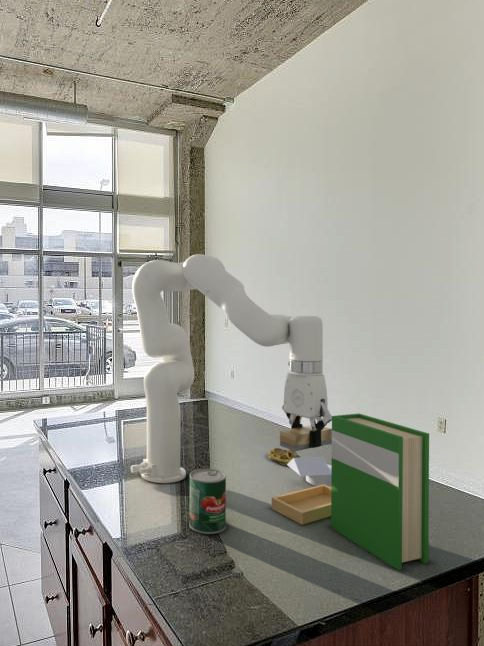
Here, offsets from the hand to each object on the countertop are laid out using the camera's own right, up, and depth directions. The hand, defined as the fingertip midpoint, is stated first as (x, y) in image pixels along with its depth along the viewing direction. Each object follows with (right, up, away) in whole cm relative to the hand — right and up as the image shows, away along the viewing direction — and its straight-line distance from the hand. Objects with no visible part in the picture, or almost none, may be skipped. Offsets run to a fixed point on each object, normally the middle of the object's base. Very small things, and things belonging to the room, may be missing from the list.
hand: (306, 443), depth 115 cm
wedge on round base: (+8, -15, +16) cm, 23 cm away
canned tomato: (-25, -15, -11) cm, 31 cm away
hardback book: (+9, -15, -18) cm, 25 cm away
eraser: (0, 0, 0) cm, 0 cm away
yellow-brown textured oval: (+4, -15, +34) cm, 38 cm away
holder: (+1, -15, -1) cm, 15 cm away
